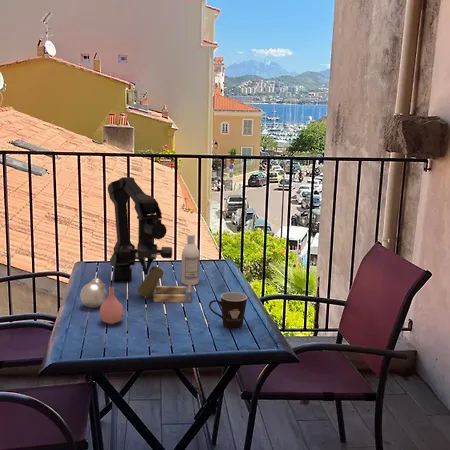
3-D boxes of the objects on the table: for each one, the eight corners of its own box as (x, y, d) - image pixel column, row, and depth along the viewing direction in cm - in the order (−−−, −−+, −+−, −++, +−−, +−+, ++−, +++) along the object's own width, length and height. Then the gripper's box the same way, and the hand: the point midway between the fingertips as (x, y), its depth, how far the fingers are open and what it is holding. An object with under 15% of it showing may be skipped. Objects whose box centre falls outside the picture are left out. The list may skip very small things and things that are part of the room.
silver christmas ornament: (111, 308, 194) (111, 281, 192) (84, 313, 189) (84, 285, 187) (103, 300, 202) (102, 274, 200) (77, 304, 197) (76, 277, 195)
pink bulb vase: (128, 321, 184) (128, 286, 182) (114, 329, 177) (114, 293, 175) (108, 316, 187) (108, 282, 185) (94, 324, 180) (94, 288, 178)
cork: (137, 286, 209) (151, 262, 207) (151, 293, 210) (166, 269, 208) (136, 292, 203) (151, 268, 201) (151, 300, 205) (165, 275, 202)
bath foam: (202, 283, 224) (203, 235, 220) (187, 286, 220) (189, 237, 216) (191, 279, 230) (193, 231, 225) (177, 282, 225) (178, 233, 221)
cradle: (152, 301, 202) (152, 291, 201) (154, 292, 212) (154, 282, 212) (190, 302, 203) (191, 292, 202) (190, 292, 213) (191, 282, 212)
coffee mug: (249, 322, 187) (250, 294, 185) (241, 332, 179) (242, 302, 177) (216, 317, 190) (217, 289, 188) (207, 326, 182) (208, 297, 180)
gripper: (117, 237, 194) (117, 281, 197) (171, 239, 195) (170, 282, 198) (121, 230, 204) (121, 271, 208) (172, 231, 205) (172, 272, 209)
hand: (146, 274), depth 205 cm, fingers closed
